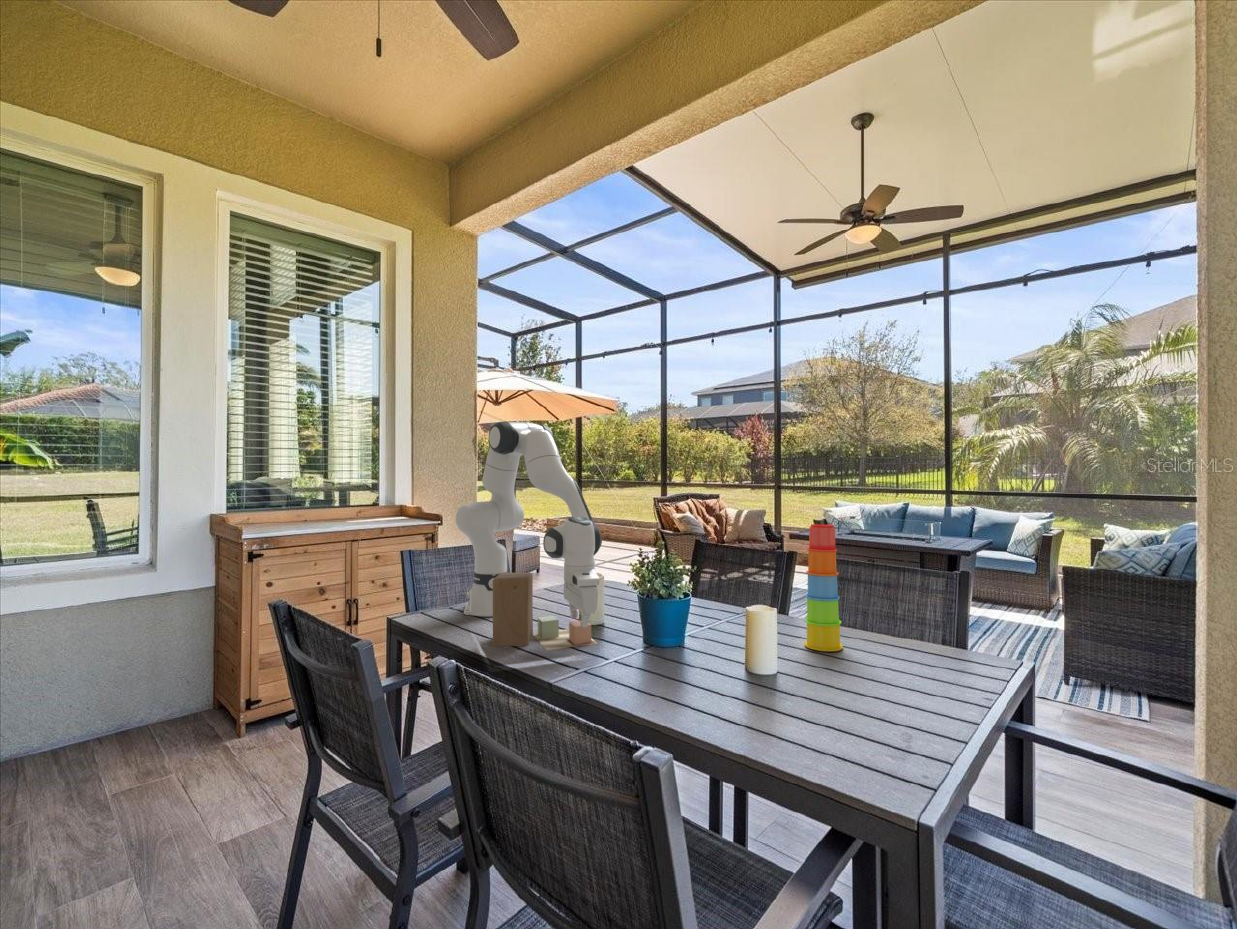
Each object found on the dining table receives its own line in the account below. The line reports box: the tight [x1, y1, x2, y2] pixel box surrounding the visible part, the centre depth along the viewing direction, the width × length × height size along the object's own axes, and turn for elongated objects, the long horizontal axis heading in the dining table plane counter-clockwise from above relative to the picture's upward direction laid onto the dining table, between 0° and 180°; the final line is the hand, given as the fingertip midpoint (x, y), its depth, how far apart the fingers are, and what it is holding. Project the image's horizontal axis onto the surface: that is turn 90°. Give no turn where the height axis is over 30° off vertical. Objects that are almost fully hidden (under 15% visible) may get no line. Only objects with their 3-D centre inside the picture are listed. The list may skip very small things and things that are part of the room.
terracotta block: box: [568, 620, 592, 644], centre depth 167 cm, size 5×5×5 cm
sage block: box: [537, 615, 560, 639], centre depth 173 cm, size 5×5×5 cm
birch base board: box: [533, 628, 599, 651], centre depth 170 cm, size 17×15×1 cm
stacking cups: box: [804, 523, 844, 653], centre depth 165 cm, size 10×10×35 cm
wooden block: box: [492, 572, 534, 647], centre depth 168 cm, size 10×10×20 cm
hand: (578, 622), depth 167 cm, fingers open, 8 cm apart
